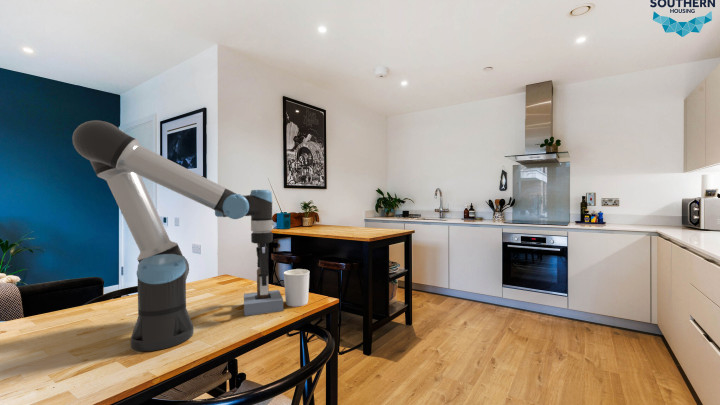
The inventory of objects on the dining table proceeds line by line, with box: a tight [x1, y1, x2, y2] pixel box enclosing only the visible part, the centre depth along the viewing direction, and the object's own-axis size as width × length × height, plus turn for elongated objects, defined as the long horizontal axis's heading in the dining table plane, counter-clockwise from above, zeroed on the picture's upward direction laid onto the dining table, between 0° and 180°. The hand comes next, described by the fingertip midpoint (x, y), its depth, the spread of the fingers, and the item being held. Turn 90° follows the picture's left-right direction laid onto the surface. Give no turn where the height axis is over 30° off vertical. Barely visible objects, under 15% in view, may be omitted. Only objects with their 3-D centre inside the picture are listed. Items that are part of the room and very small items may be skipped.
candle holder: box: [282, 268, 310, 308], centre depth 119 cm, size 10×10×12 cm
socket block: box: [243, 289, 284, 317], centre depth 115 cm, size 13×13×4 cm
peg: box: [256, 268, 270, 300], centre depth 115 cm, size 4×4×14 cm
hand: (262, 289), depth 115 cm, fingers open, 13 cm apart
